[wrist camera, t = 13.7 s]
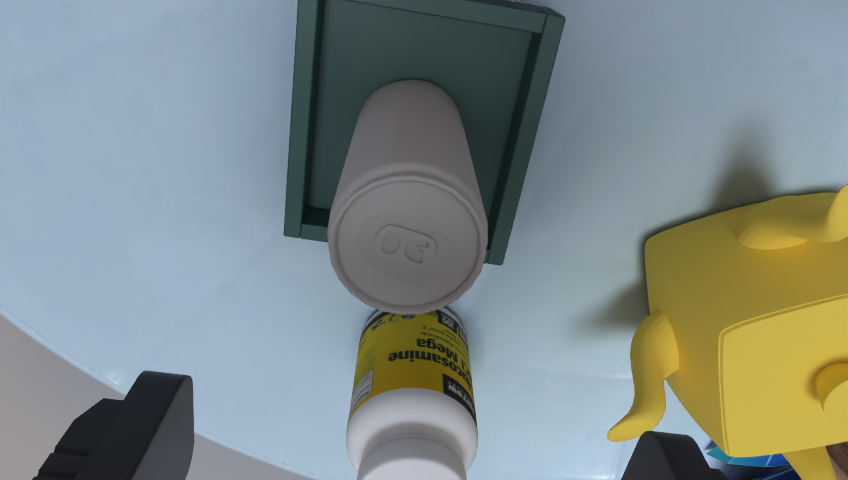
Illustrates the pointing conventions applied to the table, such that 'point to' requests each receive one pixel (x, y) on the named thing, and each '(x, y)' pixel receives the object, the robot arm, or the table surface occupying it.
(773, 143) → the table surface
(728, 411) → the teapot
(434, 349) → the pill bottle
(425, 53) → the dark green tray
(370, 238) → the beverage can
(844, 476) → the gemstone
